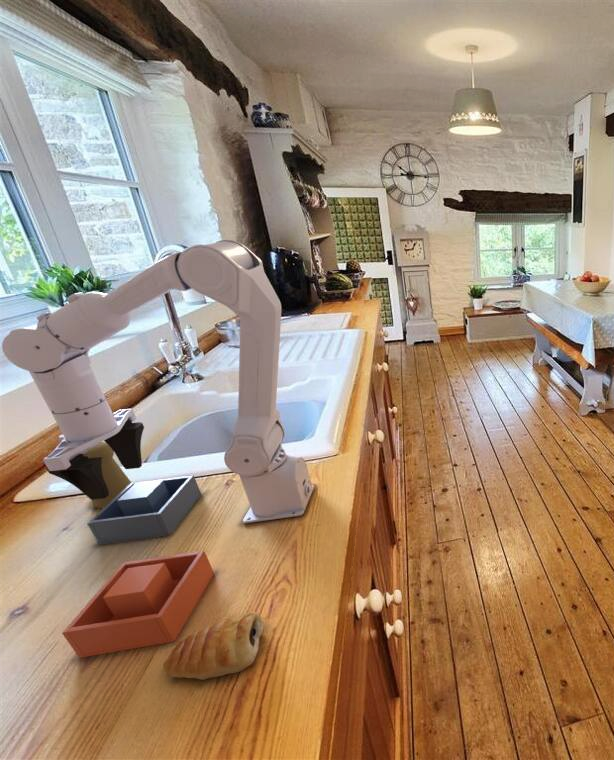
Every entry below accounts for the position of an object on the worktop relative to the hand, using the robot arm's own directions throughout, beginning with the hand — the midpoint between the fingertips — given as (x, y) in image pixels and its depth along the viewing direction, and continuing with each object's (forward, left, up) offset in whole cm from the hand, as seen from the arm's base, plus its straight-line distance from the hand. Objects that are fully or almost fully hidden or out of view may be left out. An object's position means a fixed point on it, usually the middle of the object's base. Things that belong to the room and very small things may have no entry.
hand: (117, 481), depth 64 cm
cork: (+10, -10, -10) cm, 17 cm away
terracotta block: (-12, +18, -9) cm, 23 cm away
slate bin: (-1, -2, -9) cm, 10 cm away
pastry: (-24, +26, -10) cm, 36 cm away
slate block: (-1, -2, -9) cm, 9 cm away
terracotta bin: (-12, +18, -9) cm, 23 cm away
